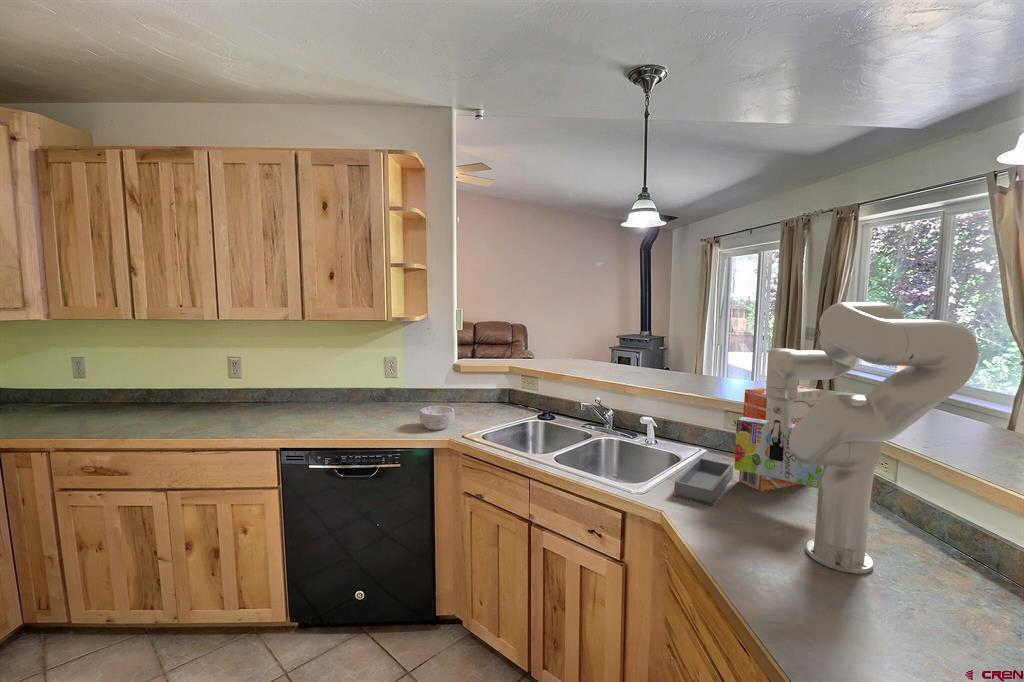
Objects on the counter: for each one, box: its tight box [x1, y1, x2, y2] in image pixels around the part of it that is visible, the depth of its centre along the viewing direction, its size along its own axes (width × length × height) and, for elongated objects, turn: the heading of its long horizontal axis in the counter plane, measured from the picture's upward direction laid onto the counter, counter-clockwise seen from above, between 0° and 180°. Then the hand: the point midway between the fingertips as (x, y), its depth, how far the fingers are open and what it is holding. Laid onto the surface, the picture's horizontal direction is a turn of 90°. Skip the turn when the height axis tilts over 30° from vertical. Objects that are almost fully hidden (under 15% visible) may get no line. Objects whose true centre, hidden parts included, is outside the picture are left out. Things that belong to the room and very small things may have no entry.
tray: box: [673, 457, 734, 507], centre depth 144 cm, size 26×11×4 cm, turn 143°
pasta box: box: [738, 385, 821, 492], centre depth 148 cm, size 23×8×30 cm, turn 111°
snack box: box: [734, 416, 825, 489], centre depth 129 cm, size 21×6×15 cm, turn 47°
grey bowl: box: [419, 405, 455, 431], centre depth 204 cm, size 15×15×8 cm
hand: (777, 456), depth 129 cm, fingers closed on snack box, 5 cm apart
